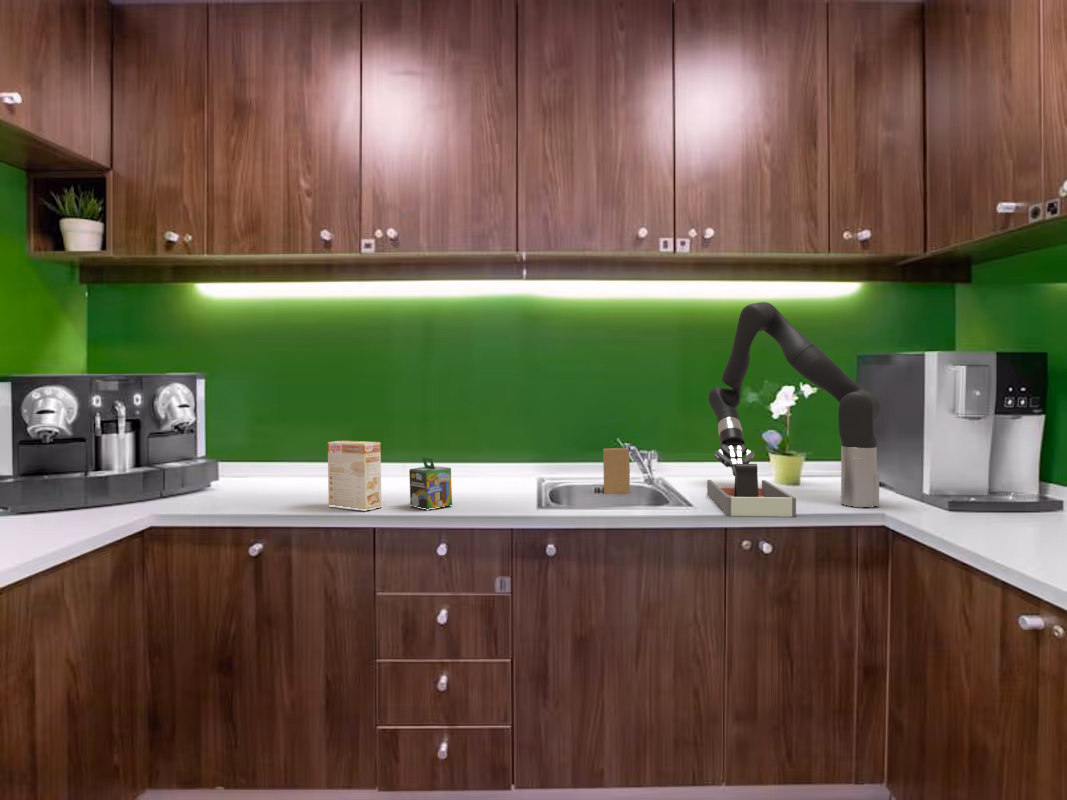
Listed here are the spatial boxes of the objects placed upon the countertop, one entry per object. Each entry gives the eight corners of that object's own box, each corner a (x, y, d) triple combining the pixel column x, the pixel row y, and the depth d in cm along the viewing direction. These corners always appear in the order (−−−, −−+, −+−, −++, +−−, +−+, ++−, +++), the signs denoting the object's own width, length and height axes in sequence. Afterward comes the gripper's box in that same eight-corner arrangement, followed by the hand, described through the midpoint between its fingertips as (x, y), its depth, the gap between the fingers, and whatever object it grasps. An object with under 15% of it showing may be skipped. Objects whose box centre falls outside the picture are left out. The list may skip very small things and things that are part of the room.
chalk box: (452, 506, 190) (452, 456, 190) (427, 511, 184) (426, 459, 183) (434, 502, 197) (433, 454, 196) (408, 507, 190) (408, 457, 190)
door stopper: (759, 507, 187) (759, 465, 187) (737, 506, 188) (737, 465, 188) (754, 501, 196) (754, 462, 196) (733, 500, 197) (733, 461, 197)
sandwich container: (630, 486, 226) (630, 444, 225) (629, 494, 210) (629, 448, 210) (605, 486, 227) (605, 443, 227) (603, 493, 212) (603, 448, 211)
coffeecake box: (382, 508, 189) (381, 441, 188) (364, 512, 182) (363, 443, 182) (345, 503, 196) (345, 439, 196) (327, 507, 190) (326, 441, 190)
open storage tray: (765, 495, 205) (765, 480, 205) (795, 516, 173) (796, 498, 173) (707, 495, 207) (707, 479, 207) (727, 515, 175) (727, 497, 175)
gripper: (711, 426, 212) (718, 468, 200) (753, 426, 211) (762, 469, 199) (709, 441, 217) (715, 483, 205) (749, 441, 216) (758, 483, 204)
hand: (738, 476), depth 202 cm, fingers closed
